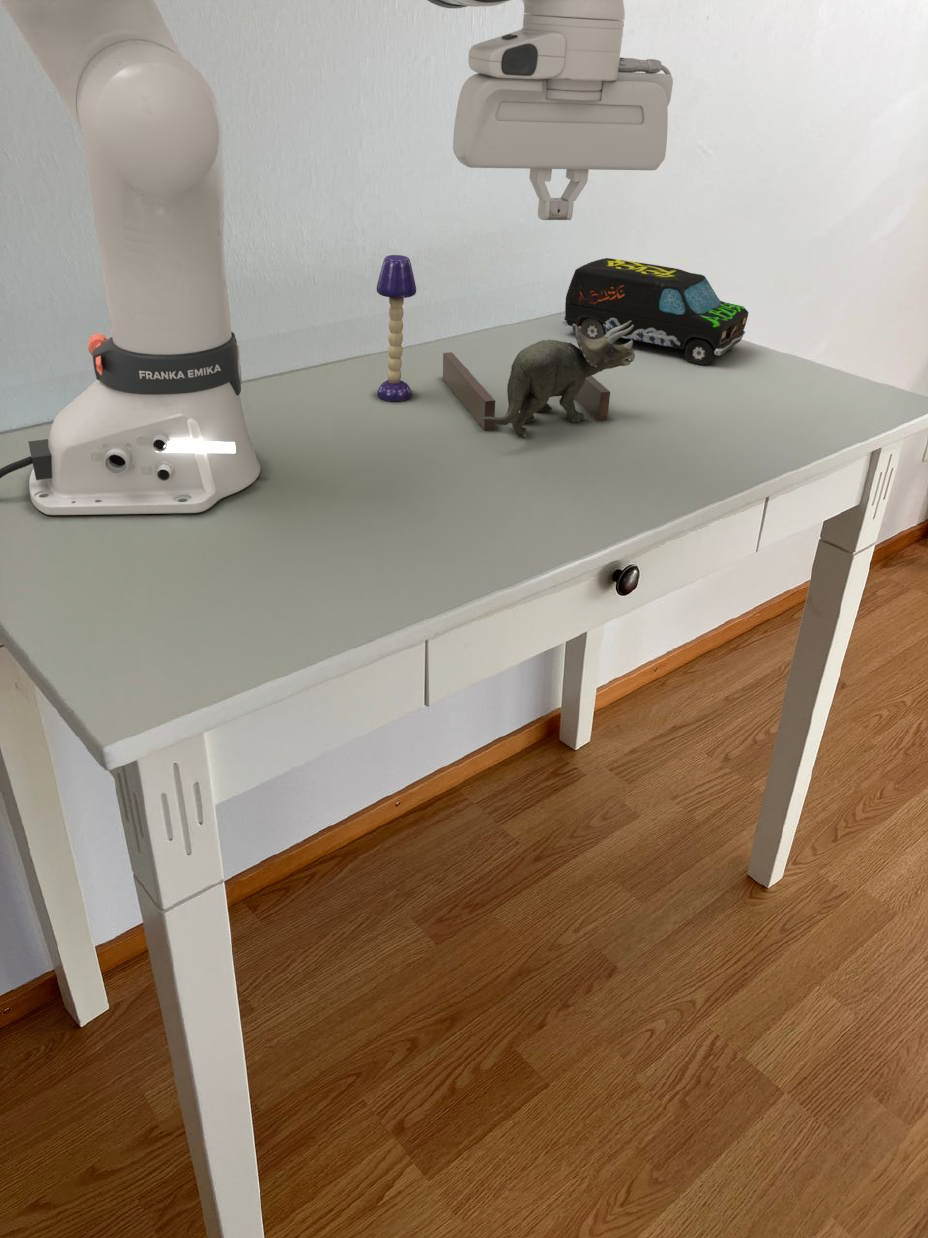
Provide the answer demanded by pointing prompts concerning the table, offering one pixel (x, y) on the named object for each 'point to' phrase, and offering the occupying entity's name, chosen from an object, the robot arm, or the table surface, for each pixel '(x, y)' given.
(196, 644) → the table surface
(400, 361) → the toy lamp
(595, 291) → the toy van
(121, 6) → the robot arm
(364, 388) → the table surface
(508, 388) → the toy dinosaur
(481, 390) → the walnut rails
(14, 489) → the table surface
